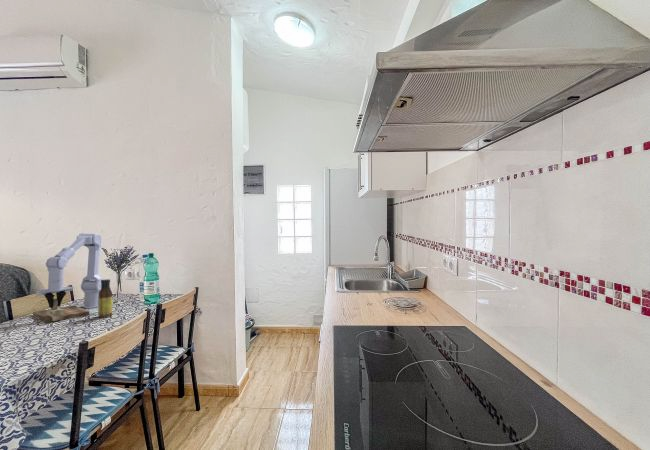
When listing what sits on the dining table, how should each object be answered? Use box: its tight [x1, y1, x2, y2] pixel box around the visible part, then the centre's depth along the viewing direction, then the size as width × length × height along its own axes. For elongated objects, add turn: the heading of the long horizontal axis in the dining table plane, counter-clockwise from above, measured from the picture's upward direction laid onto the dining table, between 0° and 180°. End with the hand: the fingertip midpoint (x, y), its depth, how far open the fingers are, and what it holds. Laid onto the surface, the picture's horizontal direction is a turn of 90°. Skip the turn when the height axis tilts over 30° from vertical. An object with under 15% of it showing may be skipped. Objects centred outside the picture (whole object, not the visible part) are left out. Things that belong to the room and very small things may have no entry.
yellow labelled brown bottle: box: [97, 278, 114, 319], centre depth 168 cm, size 6×6×20 cm
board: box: [32, 305, 90, 323], centre depth 167 cm, size 18×20×2 cm
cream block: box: [47, 298, 64, 322], centre depth 160 cm, size 4×9×10 cm, turn 57°
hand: (54, 306), depth 160 cm, fingers closed on cream block, 2 cm apart
